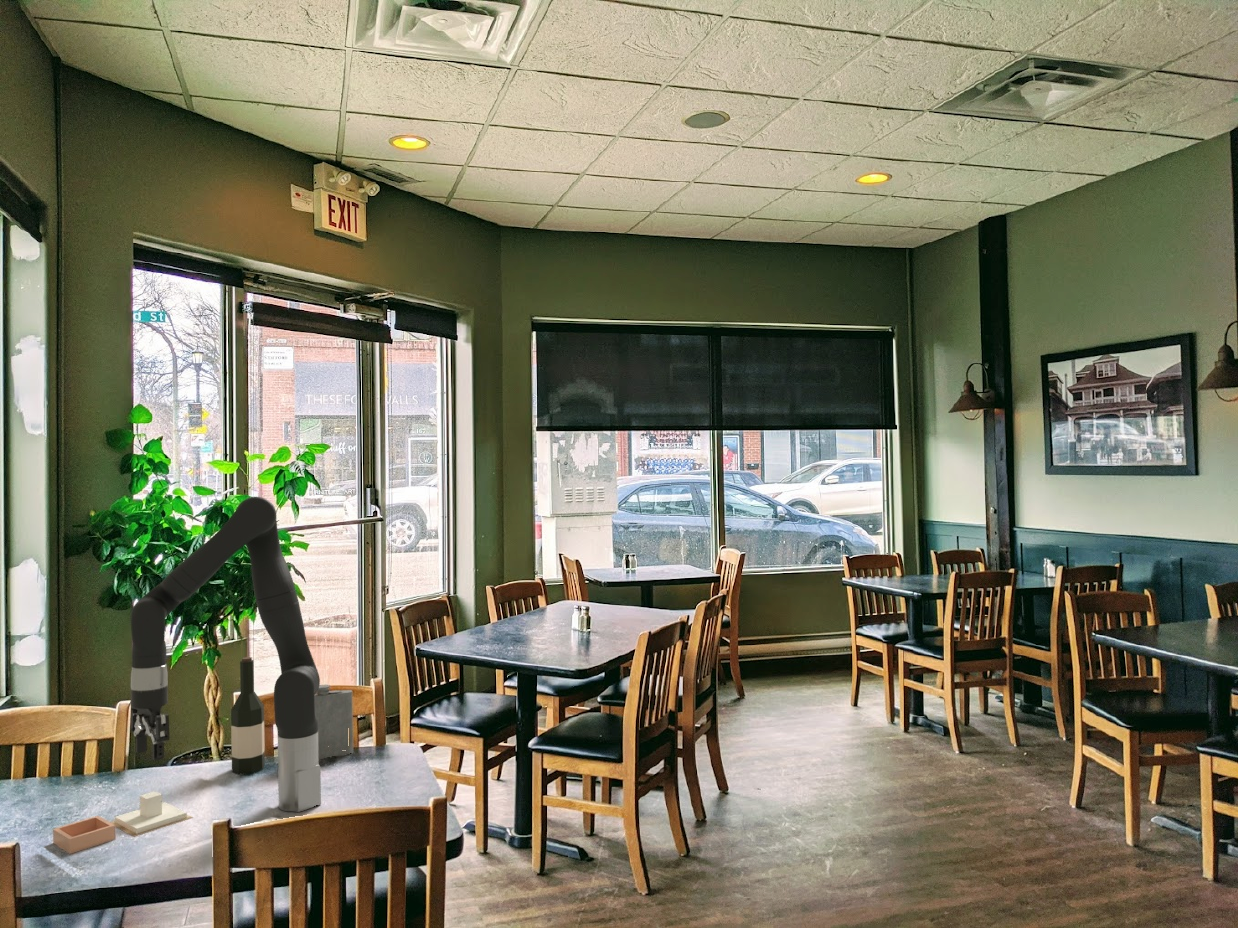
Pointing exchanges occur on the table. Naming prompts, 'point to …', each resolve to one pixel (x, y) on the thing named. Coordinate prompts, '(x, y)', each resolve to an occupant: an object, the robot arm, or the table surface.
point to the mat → (148, 830)
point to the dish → (84, 834)
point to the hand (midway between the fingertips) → (149, 755)
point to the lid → (150, 814)
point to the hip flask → (334, 721)
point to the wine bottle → (247, 725)
